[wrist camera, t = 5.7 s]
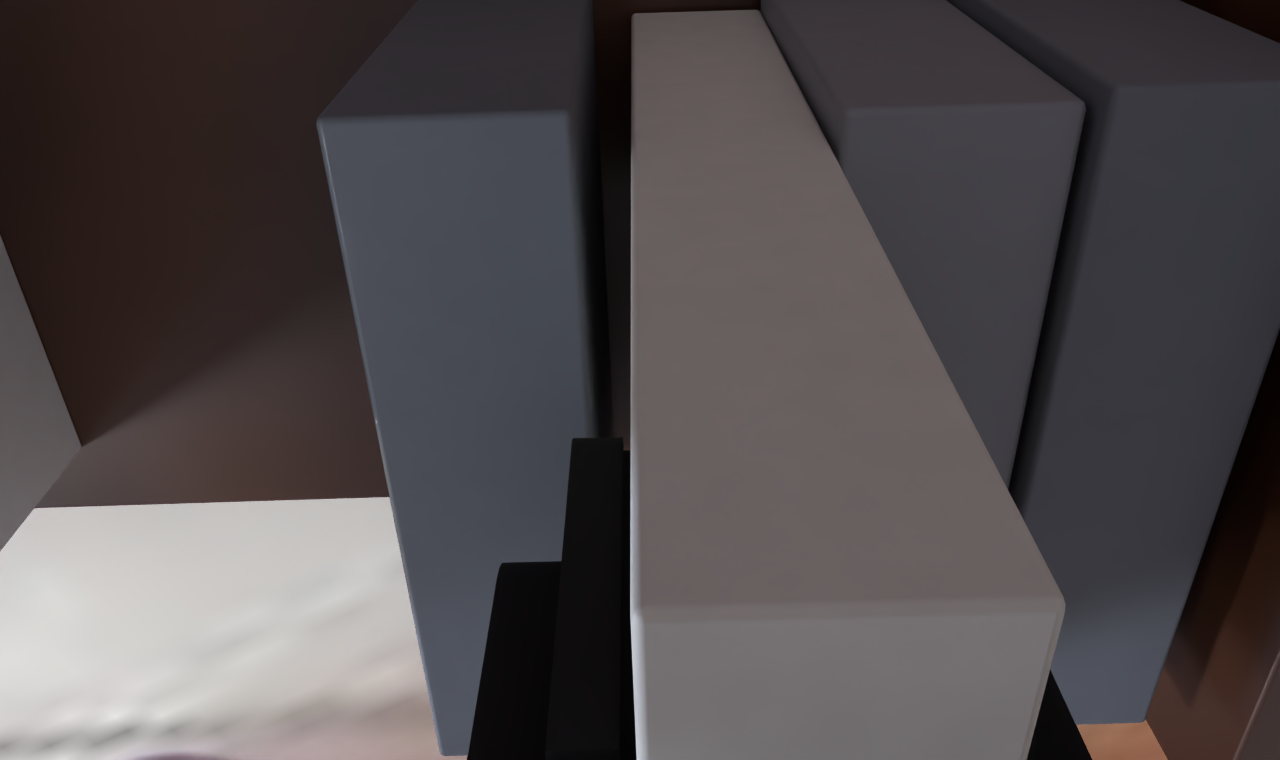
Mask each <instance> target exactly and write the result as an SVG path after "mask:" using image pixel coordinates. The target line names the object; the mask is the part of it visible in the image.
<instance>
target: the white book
mask: <svg viewBox="0 0 1280 760" xmlns="http://www.w3.org/2000/svg"><path fill="white" fill-rule="evenodd" d="M1065 605H1066V604H1065V601H1064V598H1063V595H1062V593H1061V591H1060V589H1059V587H1058V586H1057V584H1056V582H1055V580H1054V578H1053V576H1052V574H1051V572H1050V570H1049V568H1048V566H1047V564H1046V562H1045V560H1044V559H1043V557H1042V555H1041V553H1040V551H1039V549H1038V547H1037V545H1036V543H1035V541H1034V539H1033V537H1032V535H1031V533H1030V532H1029V530H1028V528H1027V526H1026V524H1025V522H1024V520H1023V518H1022V516H1021V514H1020V512H1019V510H1018V508H1017V506H1016V505H1015V503H1014V501H1013V499H1012V497H1011V495H1010V493H1009V491H1008V489H1007V487H1006V485H1005V483H1004V481H1003V479H1002V478H1001V476H1000V474H999V472H998V470H997V468H996V466H995V464H994V462H993V460H992V458H991V456H990V454H989V453H988V451H987V449H986V447H985V445H984V443H983V441H982V439H981V437H980V435H979V433H978V431H977V429H976V427H975V426H974V424H973V422H972V420H971V418H970V416H969V414H968V412H967V410H966V408H965V406H964V404H963V402H962V400H961V399H960V397H959V395H958V393H957V391H956V389H955V387H954V385H953V383H952V381H951V379H950V377H949V375H948V373H947V372H946V370H945V368H944V366H943V364H942V362H941V360H940V358H939V356H938V354H937V352H936V350H935V348H934V346H933V345H932V343H931V341H930V339H929V337H928V335H927V333H926V331H925V329H924V327H923V325H922V323H921V321H920V319H919V318H918V316H917V314H916V312H915V310H914V308H913V306H912V304H911V302H910V300H909V298H908V296H907V294H906V292H905V291H904V289H903V287H902V285H901V283H900V281H899V279H898V277H897V275H896V273H895V271H894V269H893V267H892V265H891V264H890V262H889V260H888V258H887V256H886V254H885V252H884V250H883V248H882V246H881V244H880V242H879V240H878V238H877V237H876V235H875V233H874V231H873V229H872V227H871V225H870V223H869V221H868V219H867V217H866V215H865V213H864V212H863V210H862V208H861V206H860V204H859V202H858V200H857V198H856V196H855V194H854V192H853V190H852V188H851V186H850V185H849V183H848V181H847V179H846V177H845V175H844V173H843V171H842V169H841V167H840V165H839V163H838V161H837V159H836V158H835V156H834V154H833V152H832V150H831V148H830V146H829V144H828V142H827V140H826V138H825V136H824V134H823V132H822V131H821V129H820V127H819V125H818V123H817V121H816V119H815V117H814V115H813V113H812V111H811V109H810V107H809V105H808V104H807V102H806V100H805V98H804V96H803V94H802V92H801V90H800V88H799V86H798V84H797V82H796V80H795V78H794V77H793V75H792V73H791V71H790V69H789V67H788V65H787V63H786V61H785V59H784V57H783V55H782V53H781V51H780V50H779V48H778V46H777V44H776V42H775V40H774V38H773V36H772V34H771V32H770V30H769V28H768V26H767V24H766V23H765V21H764V19H763V17H762V15H761V13H760V11H758V10H730V11H696V12H663V13H635V14H633V15H632V17H631V467H630V621H631V644H632V666H633V689H634V712H635V735H636V757H637V760H1027V756H1028V752H1029V749H1030V745H1031V741H1032V737H1033V733H1034V729H1035V725H1036V722H1037V718H1038V714H1039V710H1040V706H1041V702H1042V699H1043V695H1044V691H1045V687H1046V683H1047V679H1048V675H1049V672H1050V668H1051V664H1052V660H1053V656H1054V652H1055V648H1056V645H1057V641H1058V637H1059V633H1060V629H1061V625H1062V621H1063V618H1064V614H1065Z"/></svg>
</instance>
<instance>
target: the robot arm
mask: <svg viewBox="0 0 1280 760" xmlns="http://www.w3.org/2000/svg"><path fill="white" fill-rule="evenodd" d="M630 467H631V450H624V443H623V437H595V438H573V439H572V445H571V456H570V467H569V479H568V491H567V502H566V514H565V525H564V537H563V549H562V560H561V561H547V562H509V563H502V564H501V565H500V567H499V571H498V575H497V580H496V586H495V593H494V599H493V605H492V611H491V617H490V623H489V629H488V635H487V641H486V648H485V654H484V660H483V666H482V672H481V678H480V684H479V690H478V696H477V703H476V709H475V715H474V721H473V727H472V733H471V739H470V745H469V751H468V757H467V760H637V757H636V735H635V712H634V689H633V666H632V644H631V621H630ZM1027 760H1092V758H1091V756H1090V754H1089V752H1088V750H1087V748H1086V745H1085V743H1084V741H1083V739H1082V737H1081V735H1080V732H1079V730H1078V728H1077V726H1076V724H1075V722H1074V720H1073V717H1072V715H1071V713H1070V711H1069V709H1068V707H1067V704H1066V702H1065V700H1064V698H1063V696H1062V694H1061V691H1060V689H1059V687H1058V685H1057V683H1056V681H1055V678H1054V676H1053V674H1052V672H1051V670H1050V672H1049V675H1048V679H1047V683H1046V687H1045V691H1044V695H1043V699H1042V702H1041V706H1040V710H1039V714H1038V718H1037V722H1036V725H1035V729H1034V733H1033V737H1032V741H1031V745H1030V749H1029V752H1028V756H1027Z"/></svg>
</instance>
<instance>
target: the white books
mask: <svg viewBox="0 0 1280 760" xmlns="http://www.w3.org/2000/svg"><path fill="white" fill-rule="evenodd" d="M80 449H81V444H80V441H79V438H78V436H77V433H76V431H75V428H74V425H73V423H72V420H71V418H70V415H69V412H68V410H67V407H66V405H65V402H64V399H63V397H62V394H61V392H60V389H59V386H58V384H57V381H56V379H55V376H54V373H53V371H52V368H51V366H50V363H49V360H48V358H47V355H46V353H45V350H44V347H43V345H42V342H41V340H40V337H39V334H38V332H37V329H36V327H35V324H34V321H33V319H32V316H31V314H30V311H29V308H28V306H27V303H26V301H25V298H24V295H23V293H22V290H21V288H20V285H19V282H18V280H17V277H16V275H15V272H14V269H13V267H12V264H11V262H10V259H9V256H8V254H7V251H6V248H5V246H4V243H3V241H2V238H1V235H0V551H1V550H2V548H3V547H4V546H5V544H6V543H7V542H8V541H9V539H10V538H11V537H12V536H13V534H14V533H15V532H16V530H17V529H18V528H19V527H20V525H21V524H22V523H23V522H24V520H25V519H26V518H27V516H28V515H29V514H30V513H31V511H32V510H33V509H34V508H35V506H36V505H37V504H38V502H39V501H40V500H41V499H42V497H43V496H44V495H45V494H46V492H47V491H48V490H49V488H50V487H51V486H52V485H53V483H54V482H55V481H56V480H57V478H58V477H59V476H60V474H61V473H62V472H63V471H64V469H65V468H66V467H67V466H68V464H69V463H70V462H71V460H72V459H73V458H74V457H75V455H76V454H77V453H78V452H79V450H80Z"/></svg>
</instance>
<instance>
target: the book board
mask: <svg viewBox="0 0 1280 760" xmlns="http://www.w3.org/2000/svg"><path fill="white" fill-rule="evenodd" d="M1180 1H1182V2H1184V3H1187V4H1189V5H1191V6H1194V7H1196V8H1198V9H1201V10H1203V11H1205V12H1208V13H1210V14H1212V15H1215V16H1217V17H1219V18H1222V19H1224V20H1226V21H1229V22H1231V23H1233V24H1236V25H1238V26H1240V27H1243V28H1245V29H1247V30H1250V31H1252V32H1254V33H1257V34H1259V35H1261V36H1264V37H1266V38H1268V39H1271V40H1273V41H1275V42H1278V43H1280V0H1180ZM416 2H417V0H0V235H1V238H2V241H3V243H4V246H5V248H6V251H7V254H8V256H9V259H10V262H11V264H12V267H13V269H14V272H15V275H16V277H17V280H18V282H19V285H20V288H21V290H22V293H23V295H24V298H25V301H26V303H27V306H28V308H29V311H30V314H31V316H32V319H33V321H34V324H35V327H36V329H37V332H38V334H39V337H40V340H41V342H42V345H43V347H44V350H45V353H46V355H47V358H48V360H49V363H50V366H51V368H52V371H53V373H54V376H55V379H56V381H57V384H58V386H59V389H60V392H61V394H62V397H63V399H64V402H65V405H66V407H67V410H68V412H69V415H70V418H71V420H72V423H73V425H74V428H75V431H76V433H77V436H78V438H79V441H80V444H81V449H80V450H79V452H78V453H77V454H76V455H75V457H74V458H73V459H72V460H71V462H70V463H69V464H68V466H67V467H66V468H65V469H64V471H63V472H62V473H61V474H60V476H59V477H58V478H57V480H56V481H55V482H54V483H53V485H52V486H51V487H50V488H49V490H48V491H47V492H46V494H45V495H44V496H43V497H42V499H41V500H40V501H39V502H38V504H37V505H36V506H35V508H50V507H82V506H114V505H146V504H177V503H209V502H241V501H273V500H305V499H337V498H369V497H390V496H389V491H388V486H387V481H386V476H385V471H384V466H383V461H382V456H381V450H380V445H379V440H378V435H377V430H376V425H375V420H374V415H373V410H372V405H371V400H370V395H369V389H368V384H367V379H366V374H365V369H364V364H363V359H362V354H361V349H360V344H359V339H358V333H357V328H356V323H355V318H354V313H353V308H352V303H351V298H350V293H349V288H348V283H347V278H346V272H345V267H344V262H343V257H342V252H341V247H340V242H339V237H338V232H337V227H336V222H335V217H334V211H333V206H332V201H331V196H330V191H329V186H328V181H327V176H326V171H325V166H324V161H323V156H322V150H321V145H320V140H319V135H318V130H317V125H316V123H317V118H318V117H319V115H320V114H321V113H322V112H323V111H324V110H325V108H326V107H327V106H328V105H329V104H330V103H331V101H332V100H333V99H334V98H335V97H336V96H337V94H338V93H339V92H340V91H341V90H342V88H343V87H344V86H345V85H346V84H347V83H348V81H349V80H350V79H351V78H352V77H353V76H354V74H355V73H356V72H357V71H358V70H359V69H360V67H361V66H362V65H363V64H364V63H365V61H366V60H367V59H368V58H369V57H370V56H371V54H372V53H373V52H374V51H375V50H376V49H377V47H378V46H379V45H380V44H381V43H382V42H383V40H384V39H385V38H386V37H387V36H388V34H389V33H390V32H391V31H392V30H393V29H394V27H395V26H396V25H397V24H398V23H399V22H400V20H401V19H402V18H403V17H404V16H405V15H406V13H407V12H408V11H409V10H410V9H411V7H412V6H413V5H414V4H415V3H416ZM730 10H758V11H760V10H761V0H593V18H594V39H595V59H596V79H597V100H598V120H599V141H600V161H601V181H602V202H603V222H604V243H605V263H606V283H607V304H608V324H609V345H610V365H611V385H612V406H613V426H614V437H623V443H624V450H631V17H632V15H633V14H635V13H663V12H696V11H730ZM1146 720H1147V722H1148V724H1149V726H1150V728H1151V730H1152V731H1153V733H1154V735H1155V737H1156V739H1157V741H1158V742H1159V744H1160V746H1161V748H1162V750H1163V751H1164V753H1165V755H1166V757H1167V759H1168V760H1280V330H1279V333H1278V336H1277V339H1276V342H1275V344H1274V347H1273V350H1272V353H1271V356H1270V359H1269V362H1268V365H1267V368H1266V371H1265V374H1264V376H1263V379H1262V382H1261V385H1260V388H1259V391H1258V394H1257V397H1256V400H1255V403H1254V405H1253V408H1252V411H1251V414H1250V417H1249V420H1248V423H1247V426H1246V429H1245V432H1244V435H1243V437H1242V440H1241V443H1240V446H1239V449H1238V452H1237V455H1236V458H1235V461H1234V464H1233V466H1232V469H1231V472H1230V475H1229V478H1228V481H1227V484H1226V487H1225V490H1224V493H1223V496H1222V498H1221V501H1220V504H1219V507H1218V510H1217V513H1216V516H1215V519H1214V522H1213V525H1212V528H1211V530H1210V533H1209V536H1208V539H1207V542H1206V545H1205V548H1204V551H1203V554H1202V557H1201V559H1200V562H1199V565H1198V568H1197V571H1196V574H1195V577H1194V580H1193V583H1192V586H1191V589H1190V591H1189V594H1188V597H1187V600H1186V603H1185V606H1184V609H1183V612H1182V615H1181V618H1180V620H1179V623H1178V626H1177V629H1176V632H1175V635H1174V638H1173V641H1172V644H1171V647H1170V650H1169V652H1168V655H1167V658H1166V661H1165V664H1164V667H1163V670H1162V673H1161V676H1160V679H1159V682H1158V684H1157V687H1156V690H1155V693H1154V696H1153V699H1152V702H1151V705H1150V708H1149V711H1148V713H1147V716H1146Z"/></svg>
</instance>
